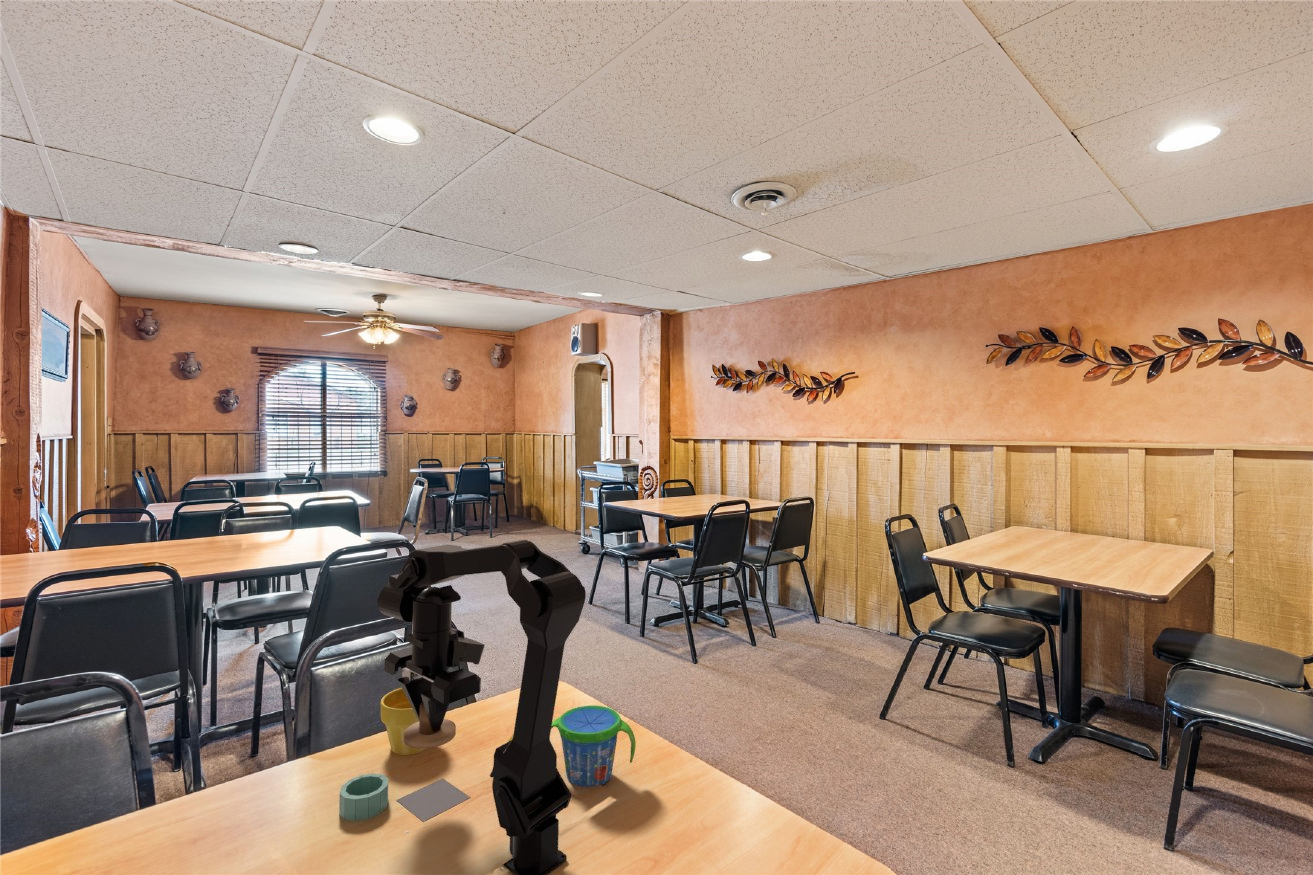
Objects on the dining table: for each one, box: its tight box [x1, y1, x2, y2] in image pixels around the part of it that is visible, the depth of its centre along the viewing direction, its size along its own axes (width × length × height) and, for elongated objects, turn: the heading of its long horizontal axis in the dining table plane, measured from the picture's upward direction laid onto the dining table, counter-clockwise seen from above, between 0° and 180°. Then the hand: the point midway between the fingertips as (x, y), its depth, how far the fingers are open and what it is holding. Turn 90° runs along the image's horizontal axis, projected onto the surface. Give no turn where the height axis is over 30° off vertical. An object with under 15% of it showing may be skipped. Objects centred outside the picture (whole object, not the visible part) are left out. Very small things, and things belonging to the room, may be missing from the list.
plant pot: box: [380, 687, 426, 756], centre depth 111 cm, size 10×10×10 cm
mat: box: [395, 778, 471, 823], centre depth 95 cm, size 8×8×1 cm
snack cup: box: [551, 705, 636, 788], centre depth 103 cm, size 16×10×10 cm
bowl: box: [338, 772, 390, 822], centre depth 93 cm, size 7×7×4 cm
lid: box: [404, 702, 457, 750], centre depth 95 cm, size 8×8×5 cm
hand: (430, 727), depth 95 cm, fingers closed on lid, 3 cm apart
